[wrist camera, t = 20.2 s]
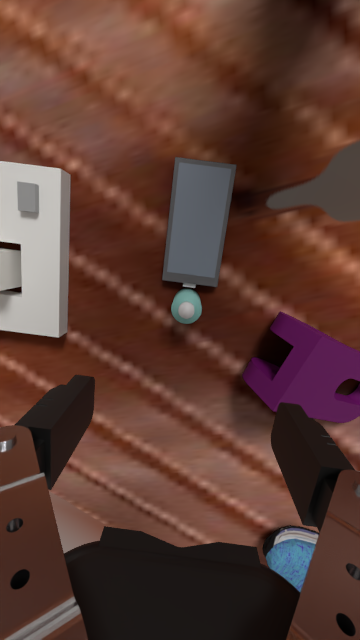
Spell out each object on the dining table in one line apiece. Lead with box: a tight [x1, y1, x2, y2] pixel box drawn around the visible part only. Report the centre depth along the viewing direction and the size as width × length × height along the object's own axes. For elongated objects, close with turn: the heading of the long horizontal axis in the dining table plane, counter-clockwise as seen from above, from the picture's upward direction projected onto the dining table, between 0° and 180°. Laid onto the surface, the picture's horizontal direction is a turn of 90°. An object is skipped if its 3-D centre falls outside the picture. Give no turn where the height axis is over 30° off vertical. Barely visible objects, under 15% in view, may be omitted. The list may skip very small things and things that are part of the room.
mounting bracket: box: [242, 312, 360, 423], centre depth 36 cm, size 9×8×18 cm
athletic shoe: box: [262, 525, 319, 592], centre depth 40 cm, size 12×20×12 cm, turn 88°
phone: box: [162, 157, 236, 288], centre depth 33 cm, size 14×7×1 cm, turn 173°
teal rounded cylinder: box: [171, 288, 202, 324], centre depth 33 cm, size 4×4×6 cm
